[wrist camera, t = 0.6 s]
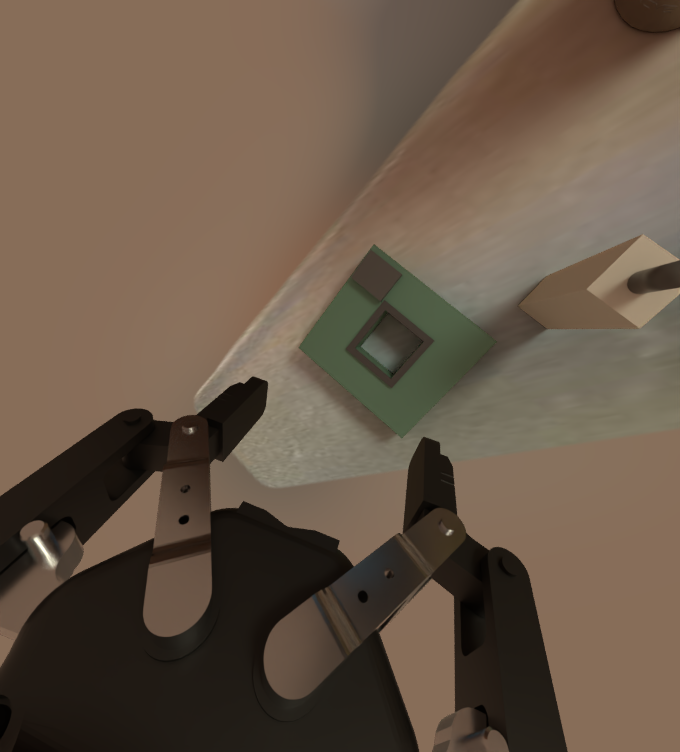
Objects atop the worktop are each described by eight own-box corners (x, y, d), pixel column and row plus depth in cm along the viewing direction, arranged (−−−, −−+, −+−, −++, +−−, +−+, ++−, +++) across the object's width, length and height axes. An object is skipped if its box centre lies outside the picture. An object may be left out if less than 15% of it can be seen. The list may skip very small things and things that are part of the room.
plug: (546, 275, 31) (686, 215, 15) (578, 299, 30) (758, 263, 14) (517, 306, 32) (616, 281, 16) (547, 329, 31) (680, 328, 15)
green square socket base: (377, 251, 35) (372, 242, 31) (490, 340, 33) (498, 341, 29) (307, 346, 39) (295, 348, 36) (403, 430, 37) (401, 440, 34)
